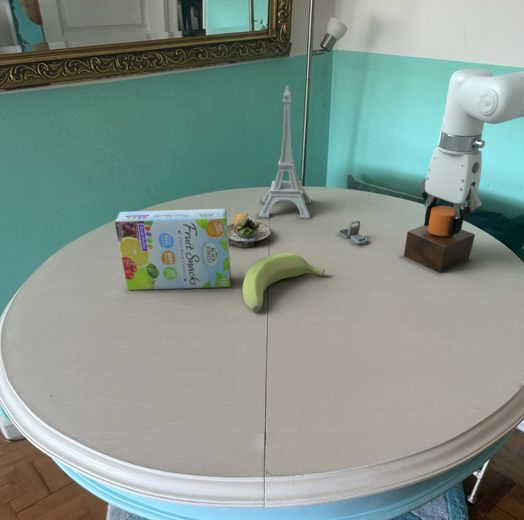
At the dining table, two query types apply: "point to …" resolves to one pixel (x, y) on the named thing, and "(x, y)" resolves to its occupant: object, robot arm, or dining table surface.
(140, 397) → the dining table surface
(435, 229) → the orange puck
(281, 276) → the banana
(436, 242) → the walnut block
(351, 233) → the strap clip
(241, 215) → the burger
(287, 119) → the eiffel tower
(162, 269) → the snack box
